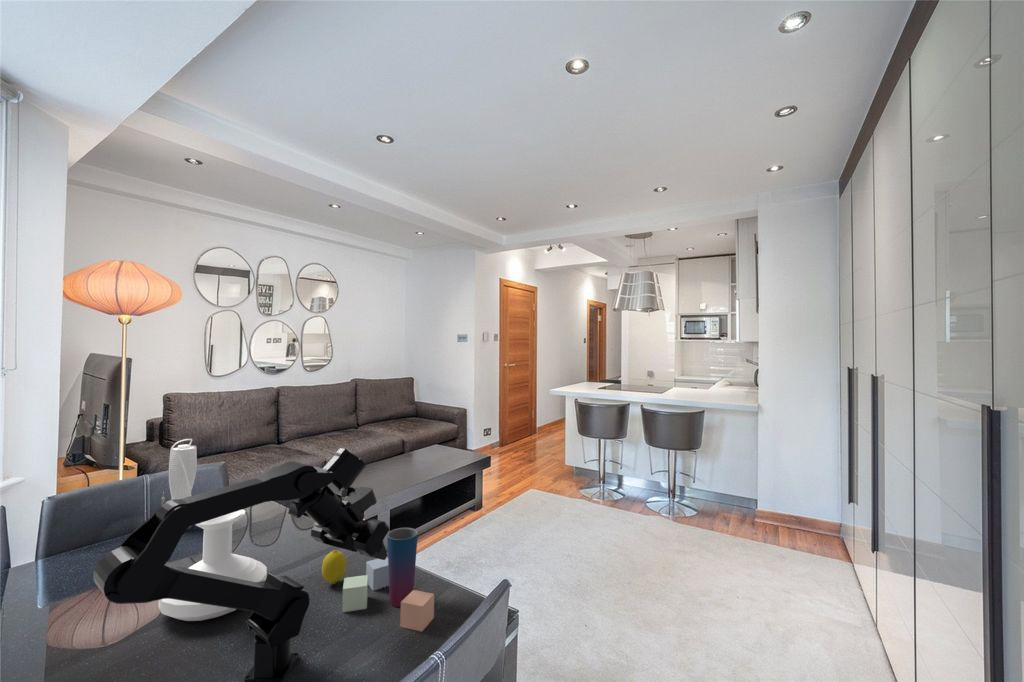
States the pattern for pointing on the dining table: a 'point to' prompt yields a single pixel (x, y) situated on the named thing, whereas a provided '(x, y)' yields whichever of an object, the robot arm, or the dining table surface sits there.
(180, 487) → the skyscraper
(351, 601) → the block sage
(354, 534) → the robot arm
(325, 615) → the dining table surface
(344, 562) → the lemon
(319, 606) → the dining table surface
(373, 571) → the block slate
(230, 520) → the candle holder
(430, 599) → the block terracotta
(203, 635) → the dining table surface
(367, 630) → the dining table surface
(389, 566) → the cup
